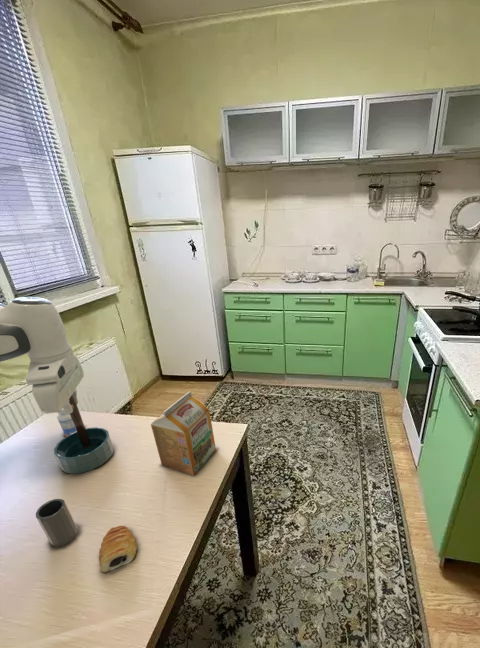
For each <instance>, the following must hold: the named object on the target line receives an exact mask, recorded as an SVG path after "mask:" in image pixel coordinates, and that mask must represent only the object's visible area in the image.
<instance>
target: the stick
mask: <svg viewBox="0 0 480 648" xmlns="http://www.w3.org/2000/svg"><path fill="white" fill-rule="evenodd" d="M69 400H70V401H69V403H70V404H73V407H74V410H73V412H72V413H70V416H71V419H72V421H73V424H74V426H75V429H76V431H77V434H78V436H79V439H80V442H81V444H82V447H83V448H89V447H90V446H91V442H90V439H89V436H88V434H87V431H86V428H87V427H86V425H85V423H84V420H83V418H82V415H81V412H80V410H79V407H78V404H76V402H75V399H74V396H73V394H72V395H71V397H70V398H69Z"/></svg>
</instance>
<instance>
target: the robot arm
mask: <svg viewBox="0 0 480 648" xmlns="http://www.w3.org/2000/svg"><path fill="white" fill-rule="evenodd" d="M64 325H65V324H64V322H63V320H62V318H61V315H60V313H59V311H58V309H57V308H56V306H55V305H54V303H53V302H52V301H51V300H48V299H47V298H42V297H39V296H23V297H16V298H13V299H12V300H10V301H9V303H8V304H4V303H1V302H0V363H1V362H5V361H9V360H12V359H15V358H19V357H22V356H24V355H27V356H28V358H29V366H28V370H27V373H26V375H25V382H26V384H27V385H28V386H32V387H31V390H32V394H33V397H34V398H35V401H36V403H37V405H38V407H39V409H40V411H41V412H42V413H43V414H46V415H49V414H55V413H57V412H60V411H61V410H62V409H64V411H65V413H66V414H68V413H72V412H73V410H74V407H73V404H70V403H69V401H70V400H69V398H70V397H71V395H72V394H73V396H74V399H75V402H76V404H77V405H78V404H79V400H78V389H77V388H78V386H79V384H80V383H81V381H82V380H83V379H84V377H85V374H84V369H83V367H82V365H81V362H80V359H79V358H78V356H77V355H75V353H74V351H73V348H72V345H71V344H70V342H69V341H68V339H67V334H66V331H67V330H66V328H65V326H64ZM57 414H58V413H57Z"/></svg>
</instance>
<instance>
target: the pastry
mask: <svg viewBox="0 0 480 648" xmlns="http://www.w3.org/2000/svg"><path fill="white" fill-rule="evenodd" d="M137 549H138V544H137V542H136V538H135V536H134V535H133V533H132V532H131V531H130V529H128V527H127V526H125V525H119V526H118V525H117V526H114V527H111V528H110V529H109V530H108V531H107V532H106V534H105V535H104V536H103V538H102V542H101V544H100V548H99V552H98V554H99V557H98V561H99V562H98V563H99V565H100V571H101V572H102V573H107V572H109V571H113V570H114V569H117V568H120V567H121V566H124V565H127V564H130V563H131V562H132V561H133V560H134V559H135V557H136V553H137Z"/></svg>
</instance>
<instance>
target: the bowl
mask: <svg viewBox="0 0 480 648" xmlns="http://www.w3.org/2000/svg"><path fill="white" fill-rule="evenodd" d="M85 428H86V431H87V434H88V436H89V439H90V442H91V446H90V447H89V448H83V447H82V444H81V442H80V439H79V436H78V434H77V431H76V432H74V433H72V434H70V435H68V436H65V437H63V438H62V439H61V440H60V441H59V442H58V443H57V444H56V445H55V447H54V449H53V454H54V457H55V459H56V461H57V463H58V466H59V468H60V469H61V470H62V471H63V472H64V473H66V474H71V475H74V474H83V473H87V472H89V471H93V470H94V469H96V468H98V467H101V466H102V465H103V464H104V463H106V462H107V461H108V460H109V459H110V458H111V457H112V455H113V454H114V450H115V448H114V444H113V441H112V440H111V439H112V438H111V436H110V434H109V433H110V432H109V431H108V430H107V429H105V427H98V426H95V427H85Z"/></svg>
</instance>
